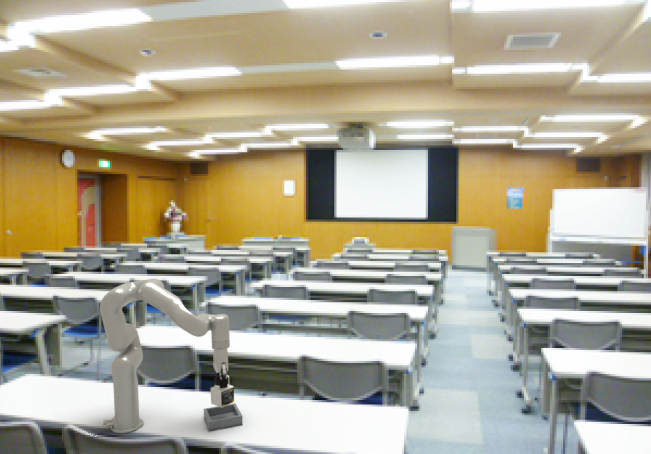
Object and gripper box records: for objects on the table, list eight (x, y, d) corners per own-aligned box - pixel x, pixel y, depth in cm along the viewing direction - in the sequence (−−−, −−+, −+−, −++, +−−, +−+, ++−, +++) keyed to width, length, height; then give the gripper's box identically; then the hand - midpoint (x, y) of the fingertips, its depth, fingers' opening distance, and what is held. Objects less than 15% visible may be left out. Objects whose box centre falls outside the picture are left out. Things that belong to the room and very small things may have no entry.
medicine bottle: (221, 408, 200) (220, 379, 199) (210, 403, 204) (209, 376, 203) (234, 402, 205) (233, 374, 205) (223, 398, 210) (222, 371, 209)
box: (208, 431, 196) (208, 422, 196) (203, 417, 209) (203, 408, 209) (242, 425, 201) (242, 415, 201) (235, 411, 214) (235, 403, 214)
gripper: (208, 339, 210) (210, 379, 211) (215, 350, 194) (216, 393, 195) (225, 337, 213) (226, 377, 214) (233, 348, 197) (234, 390, 198)
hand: (222, 384), depth 204 cm, fingers closed on medicine bottle, 6 cm apart
